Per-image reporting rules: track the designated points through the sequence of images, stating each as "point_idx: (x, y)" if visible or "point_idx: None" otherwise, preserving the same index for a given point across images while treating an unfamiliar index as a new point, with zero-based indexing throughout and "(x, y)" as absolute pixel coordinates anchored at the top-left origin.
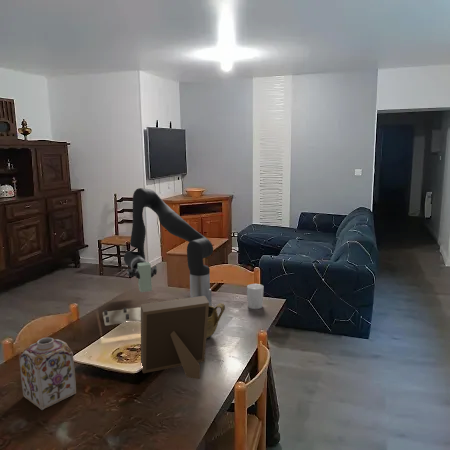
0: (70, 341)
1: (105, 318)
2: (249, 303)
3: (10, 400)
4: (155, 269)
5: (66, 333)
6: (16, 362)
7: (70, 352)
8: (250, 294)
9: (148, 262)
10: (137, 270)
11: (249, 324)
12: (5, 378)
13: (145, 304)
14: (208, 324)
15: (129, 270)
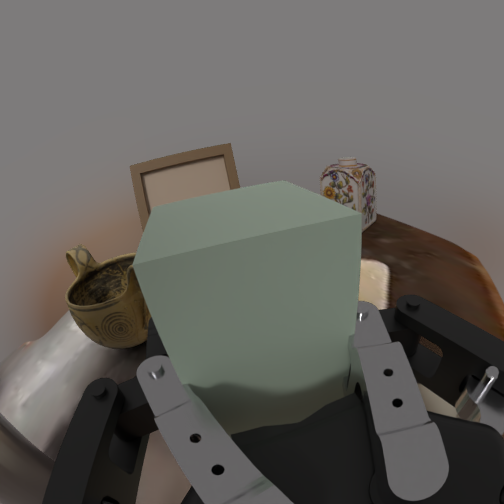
0: (437, 299)
1: (442, 399)
2: None
3: (383, 218)
4: (96, 380)
5: (478, 322)
6: (451, 249)
7: (321, 175)
8: None
9: (147, 245)
10: (368, 346)
11: (24, 365)
12: (426, 232)
13: (223, 144)
14: (114, 270)
15: (476, 333)
